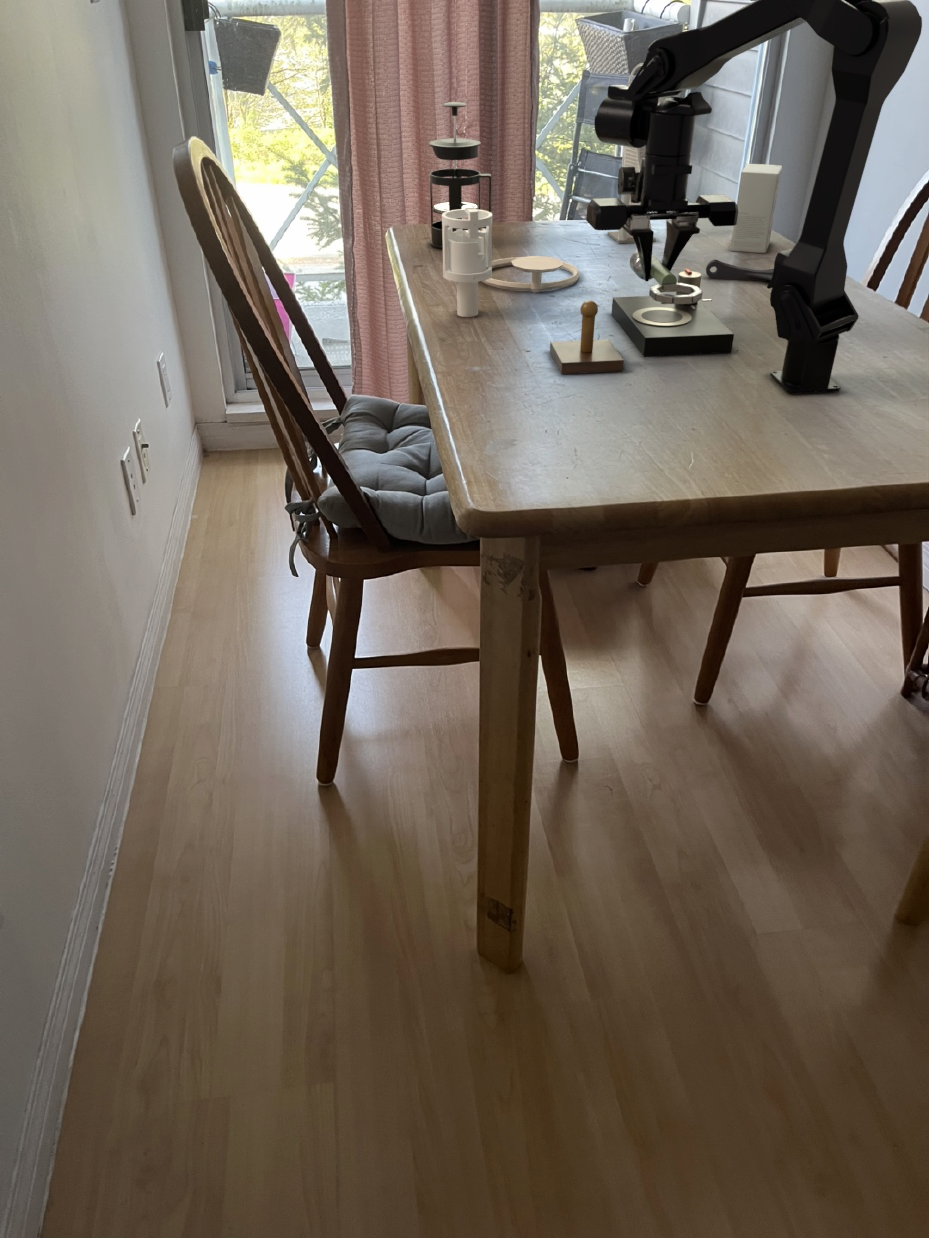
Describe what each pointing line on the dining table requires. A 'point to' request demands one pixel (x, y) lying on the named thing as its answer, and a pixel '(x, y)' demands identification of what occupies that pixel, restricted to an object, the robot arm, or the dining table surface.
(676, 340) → the stove
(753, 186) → the small box
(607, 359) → the peg stand
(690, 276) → the burner knob
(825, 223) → the robot arm
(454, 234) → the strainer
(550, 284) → the hand towel holder
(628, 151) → the skyscraper
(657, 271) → the green handled ring tool
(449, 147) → the french press
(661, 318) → the burner
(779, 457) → the dining table surface
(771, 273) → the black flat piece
